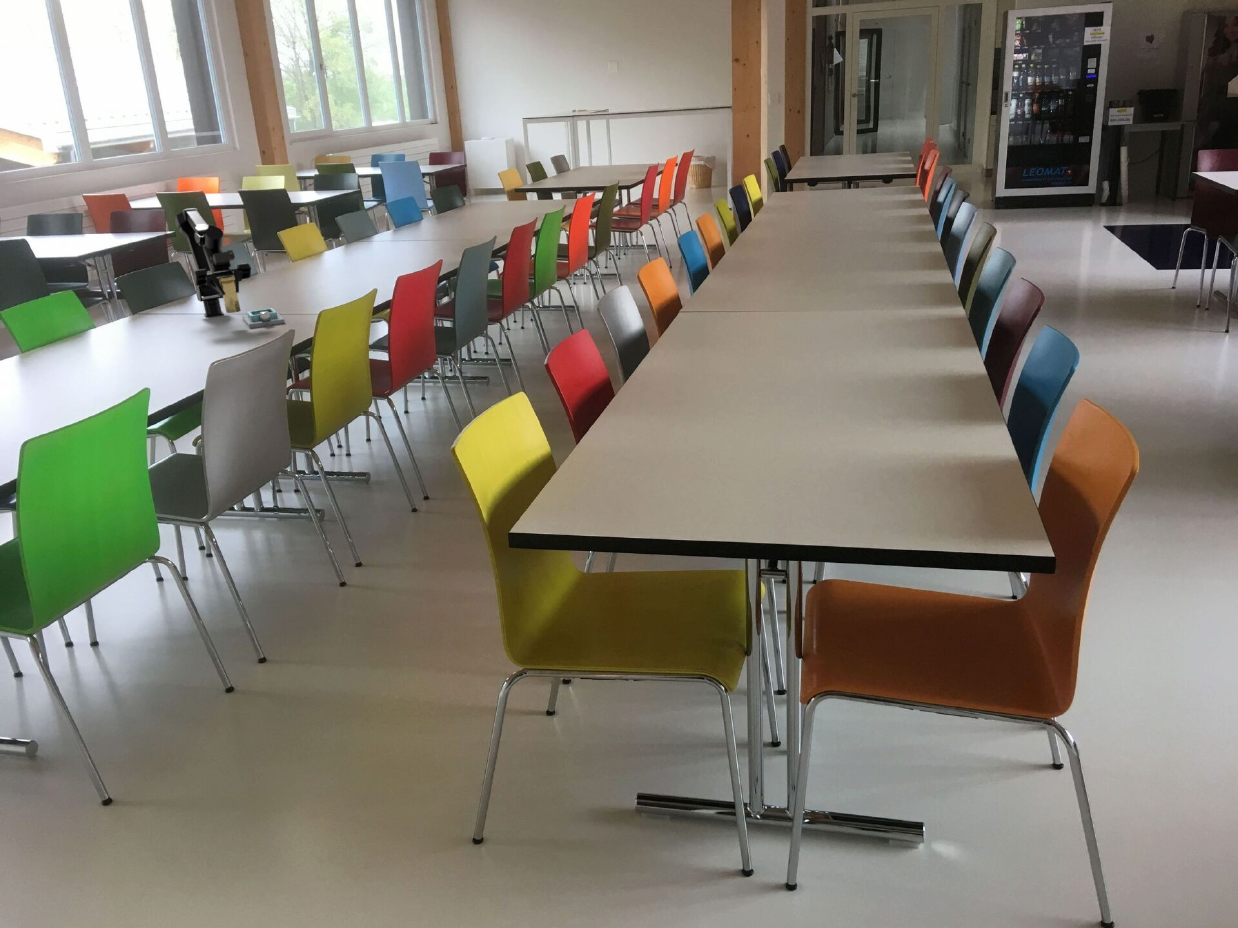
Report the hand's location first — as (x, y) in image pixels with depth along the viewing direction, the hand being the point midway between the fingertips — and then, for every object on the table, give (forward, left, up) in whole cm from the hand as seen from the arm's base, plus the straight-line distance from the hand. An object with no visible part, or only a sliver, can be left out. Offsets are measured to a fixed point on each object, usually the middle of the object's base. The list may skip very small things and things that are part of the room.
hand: (230, 293), depth 335 cm
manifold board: (-5, +10, -12) cm, 17 cm away
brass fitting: (-1, 0, -7) cm, 7 cm away
